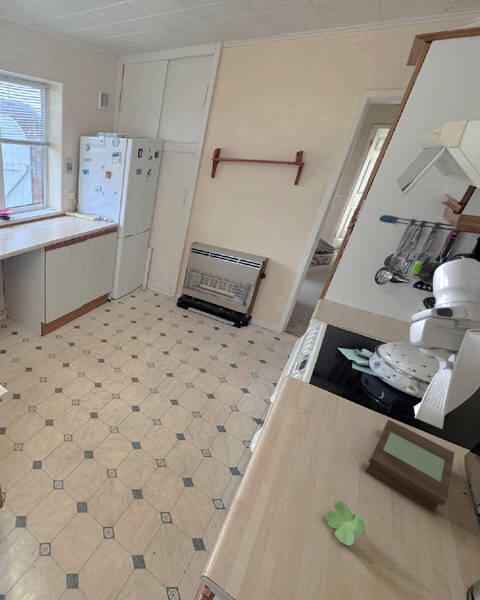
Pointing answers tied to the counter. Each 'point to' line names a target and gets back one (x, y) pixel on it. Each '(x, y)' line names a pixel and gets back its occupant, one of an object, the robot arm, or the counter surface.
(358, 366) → the cloth
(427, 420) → the white twisted piece
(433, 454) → the wooden jewelry box
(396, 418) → the counter surface
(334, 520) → the seedling
